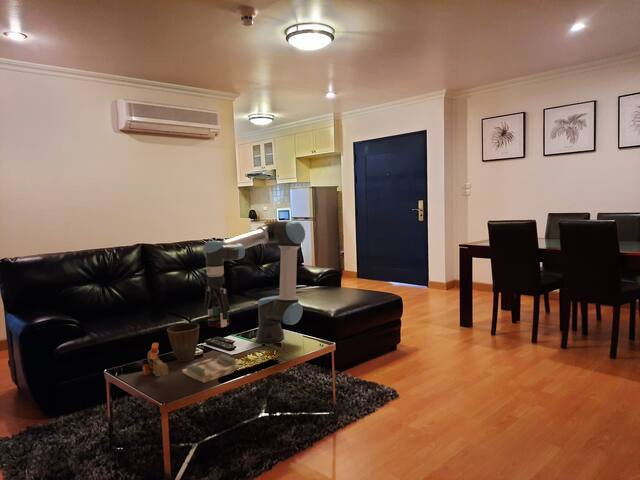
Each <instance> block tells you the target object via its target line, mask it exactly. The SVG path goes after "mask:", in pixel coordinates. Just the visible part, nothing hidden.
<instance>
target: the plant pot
mask: <svg viewBox="0 0 640 480" xmlns="http://www.w3.org/2000/svg"><path fill="white" fill-rule="evenodd" d="M166 332H167V335H168V336H167V337H168V339H169V344H170V346H171V349H172V352H173V353H174V356H175V358H176V359H177V362H179V363H187V362H190V361H193V360H194V358H195V356H196V351H197V348H198V342H199V334H200V324H198V323H192V322H191V323H181V324H176V325H171V326H170V327H168V328H166Z"/></svg>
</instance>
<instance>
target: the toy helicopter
mask: <svg viewBox="0 0 640 480" xmlns="http://www.w3.org/2000/svg"><path fill="white" fill-rule="evenodd" d="M159 351H160V350H159V343H158V342H153V343H152V345H151V349H150V350H148V352H147V362H148V363H146V364H143V365H142V372H143V375H144V376H149V375H150V374H151V372H152V374H154V376H155V377H156V378H157V377H160V376H166V375H169V367H168V365H167V363H166V362H163V360H161V359H160V358H159V356H158V355H159V353H160V352H159Z"/></svg>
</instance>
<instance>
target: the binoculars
mask: <svg viewBox="0 0 640 480" xmlns="http://www.w3.org/2000/svg"><path fill="white" fill-rule="evenodd" d="M212 309H213V315H212V316H210V317H208V316H207V317H206V318H204V319H205V323H207V324H208V325H207V326H208V327H209V328H212V327H216V328H217V329H218V328H222V327H221V317H220V312H221V309H220V306H219V303H218V301H214V304H213V308H212ZM223 310H224V309H223ZM212 317H213V318H212ZM208 319H214V320H208ZM228 325H230V314H229V311H227V326H228Z"/></svg>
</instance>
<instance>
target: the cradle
mask: <svg viewBox="0 0 640 480" xmlns="http://www.w3.org/2000/svg"><path fill="white" fill-rule="evenodd" d="M239 368H241V369H242V366H241V365H239V364H237V360H236V358H234V357H231V356H228V355H226V354H220V355H218V356H217V358H214V357H211V358H208V359H205V360H201V361H198V362H195V363H192V364H189V365H186V368H184V369H181V371H182V374H184V375H186V376H188V377H190V378H193V379H195V380H197V381H199V382H201V383H203V384H204V383H208V382H210V381H214V380H216V379H218V378H222V377H224V376H227V375H230V374H232V373H235V372H234V371H235V370H237V369H239Z"/></svg>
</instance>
